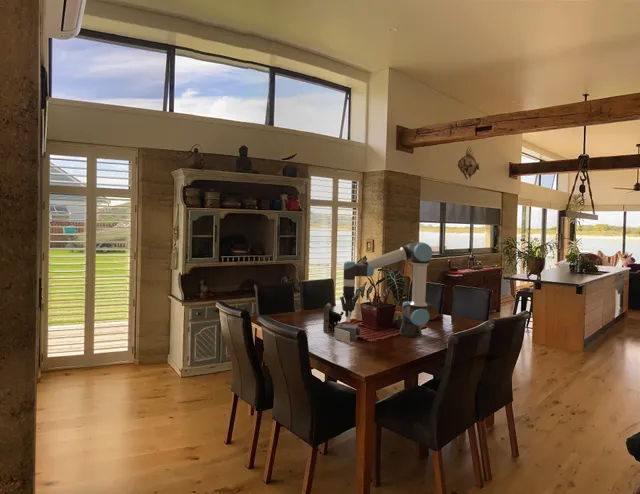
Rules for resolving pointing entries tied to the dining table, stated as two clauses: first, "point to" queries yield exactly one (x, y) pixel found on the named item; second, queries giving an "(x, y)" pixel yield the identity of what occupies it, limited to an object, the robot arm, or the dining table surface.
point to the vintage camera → (330, 318)
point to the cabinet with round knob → (350, 330)
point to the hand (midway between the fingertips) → (348, 321)
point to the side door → (342, 335)
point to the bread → (431, 311)
